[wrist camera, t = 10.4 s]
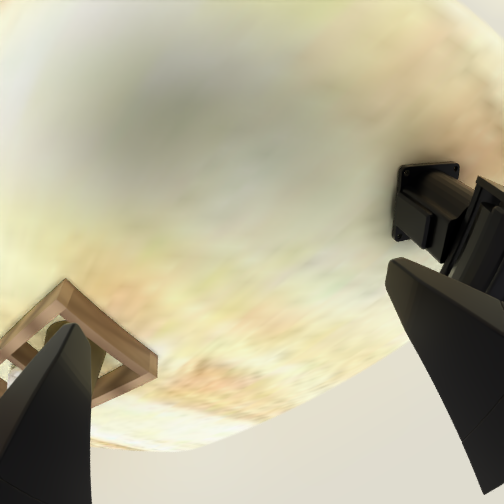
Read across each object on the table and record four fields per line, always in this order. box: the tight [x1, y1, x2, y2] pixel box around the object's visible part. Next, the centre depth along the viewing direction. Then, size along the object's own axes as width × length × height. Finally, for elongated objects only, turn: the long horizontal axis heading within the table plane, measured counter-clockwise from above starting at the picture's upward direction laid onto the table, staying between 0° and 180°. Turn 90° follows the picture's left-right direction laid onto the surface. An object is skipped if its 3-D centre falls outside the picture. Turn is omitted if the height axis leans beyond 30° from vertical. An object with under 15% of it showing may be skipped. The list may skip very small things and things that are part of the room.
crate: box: [0, 279, 158, 408], centre depth 25 cm, size 21×11×2 cm, turn 121°
